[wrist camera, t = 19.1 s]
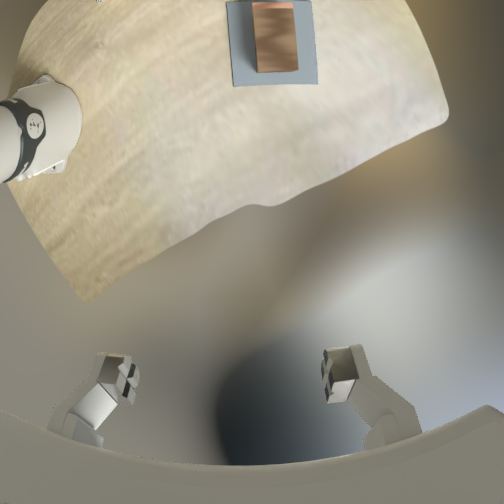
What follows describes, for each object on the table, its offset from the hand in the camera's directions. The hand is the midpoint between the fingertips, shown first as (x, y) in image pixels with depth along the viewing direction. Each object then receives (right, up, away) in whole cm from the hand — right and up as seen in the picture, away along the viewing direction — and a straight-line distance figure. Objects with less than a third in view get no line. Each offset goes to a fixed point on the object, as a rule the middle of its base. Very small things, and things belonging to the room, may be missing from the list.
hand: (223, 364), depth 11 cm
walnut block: (+4, +28, +20) cm, 35 cm away
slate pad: (+4, +34, +20) cm, 40 cm away
